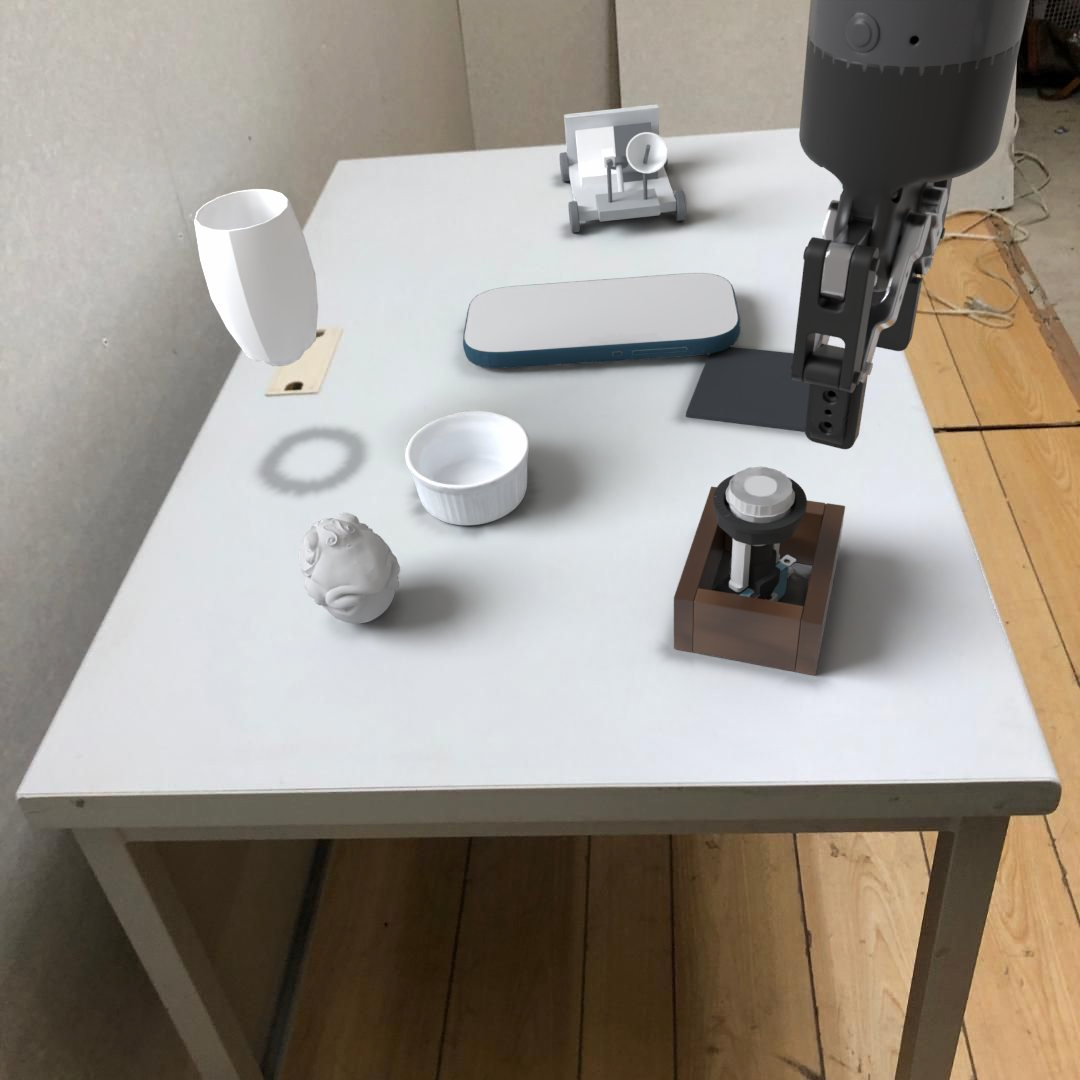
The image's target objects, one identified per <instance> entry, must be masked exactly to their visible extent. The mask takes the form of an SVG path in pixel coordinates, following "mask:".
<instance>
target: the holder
mask: <svg viewBox="0 0 1080 1080" xmlns="http://www.w3.org/2000/svg"><path fill="white" fill-rule="evenodd" d="M717 487H718V486H711V487H710V489H709V492H708V495H707V497H706V501H705V504H704V507H703V510H702V513H701V515H700V518H699V522H698V524H697V528H696V531H695V533H694V537H693V540H692V543H691V545H690V548H689V550H688V551H689V552H688V554H687V557H686V560H685V563H684V566H683V570H682V572H681V575H680V578H679V581H678V583H677V587H676V590H675V593H674V595H673V649H675V650H679V651H684V652H690V653H694V654H699V655H700V654H701V655H706V656H710V657H715V658H716V657H717V658H721V659H727V660H731V661H732V660H733V661H737V662H741V663H748V664H753V665H759V666H763V667H768V668H774V669H778V670H779V669H780V670H785V671H790V672H795V673H800V674H806V675H811V676H815V675H816V674H817V669H818V663H819V659H820V655H821V654H820V653H821V649H822V644H823V643H822V642H823V638H824V632H825V626H826V622H827V616H828V611H829V607H830V601H831V597H832V591H833V586H834V580H835V574H836V570H837V566H838V559H839V554H840V546H841V539H842V534H843V533H842V532H843V525H844V518H845V512H846V505H843V504H835V503H828V502H827V503H825V502H821V501H815V500H808V499H807V507H806V512H805V515H804V516H803V518H802V519H801V521H800V523H799V525H798V527H797V529H796V530H795V532H794V534H793V536H792V537H791V538H789V539H787V540H785V541H783V542H781V543H780V546H779V554H780V560H781V559H782V558H783V557H784V556H786V555H789V556H791V557H793V558H795V559H796V562H795V563H800V564H805V565H806V564H807V565H812V567H811V571H810V576H809V582H808V586H807V591H806V595H805V600H804V605H799V604H792V603H787V602H782V601H778V602H776V601H770V600H765V599H759V598H753V597H747V596H741V595H736V594H730V593H724V592H718V591H714V590H712V589H713V586H714V583H715V579H716V576H717V573H718V570H719V567H720V563H721V560H722V557H723V554H724V551H726V552H731V553H732V545H733V538H732V537H731V536H730V535H728V534H727V533H726V532H725V531H724V530H723V529H722V528H720V527H719V525H718V521H717V516H716V512H715V510H714V506H713V496H714V492H715V490H716V488H717ZM728 506H729V505H728ZM728 506H727V509H728ZM791 513H792V511H791V510H790V514H791ZM785 561H787V562H790V560H785Z"/></svg>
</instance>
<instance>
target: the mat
mask: <svg viewBox="0 0 1080 1080" xmlns="http://www.w3.org/2000/svg"><path fill="white" fill-rule="evenodd" d="M793 355H794V352H785V351H778V350H777V351H776V350H765V349H757V348H748V347H739V346H738V347H736V346H731V347H729V348H727V349H725V350H723V351H720V352H716V353H711V354H707V358H706V361H705V363H704V366H703V368H702V371H701V373H700V376H699V378H698V381H697V383H696V386H695V389H694V391H693V394H692V396H691V398H690V402H689V404H688V406H687V409H686V412H685V417H686V418H693V419H702V420H710V421H716V422H717V421H718V422H726V423H732V424H733V423H735V424H742V425H751V426H758V427H765V428H772V429H773V428H774V429H781V430H790V431H798V432H805V425H806V416H807V406H808V397H809V388H810V383H806V382H801V381H797V380H793V379H792V378H791V372H792V370H791V364H792V361H793Z"/></svg>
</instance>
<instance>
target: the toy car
mask: <svg viewBox="0 0 1080 1080" xmlns="http://www.w3.org/2000/svg"><path fill="white" fill-rule="evenodd" d="M563 119H564V132H565V133H564V134H565V147H566V151H565V152H559V166H560V170H559V171H560V178H561V181H562V183H563V182H570V186H571V192H572V198H573V201H569V202H568V219H569V227H570V232H571V233H579V232H580V229H581V226H580V225H581V224H580V222H587V221H596V220H599V222H610V221H618V220H627V219H628V220H629V219H637V218H646V217H655V216H661V213H670V212H674V218H675V221H677V222H683V221H685V220H686V218H687V200H686V193H685V191H684V189H676V190H674V191H673V188H672V185H671V182H670V180H669V177H668V174H667V172H666V171H667V170H668V166H669V164H668V163H669V160H668V159H669V148H668V145H667V143H666V141H665V140H664V139H663V138H662V137H661V135H660V108H659V105H658V104H657V103H656V104H648V105H647V104H646V105H639V106H629V107H621V108H611V109H602V110H593V111H584V112H575V113H566V114H563Z"/></svg>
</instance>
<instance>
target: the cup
mask: <svg viewBox="0 0 1080 1080" xmlns="http://www.w3.org/2000/svg"><path fill="white" fill-rule="evenodd" d="M193 221H194V228H195V229H194V230H195V237H196V242H197V248H198V254H199V255H198V256H199V261H200V264H201V268H202V272H203V275H204V279H205V282H206V286H207V289H208V292H209V296H210V300H211V301H212V303H213V305H214V307H215V309H216V311H217V313H218V315H219V317H220V318H221V320H222V322H223V324H224V326H225V329H226V330H227V331H228V332H229V334H230V335H231V336H232V338H233V339H234V341H235V342H236V343H237V345H238V346H239V347H240V349H241V351H243V353H244V355H246V357H247V358H249V359H250V360H251V359H252V360H254V361H257V362H262V363H263V362H264V363H265V364H267V365H269V366H271V367H285V366H288V365H292V364H294V363H296V362H297V361H299V360H300V359H301V358H302V356H303V355H304V353H305V352H306V351H307V350H309V349H311V348H312V346H313V344H314V343H315V342H316V340H317V332H318V331H317V330H318V318H319V300H318V299H319V298H318V288H317V276H316V271H315V268H314V264H313V260H312V258H311V257H312V256H311V253H310V250H309V247H308V244H307V240H306V237H305V234H304V233H303V230H302V227H301V225H300V223H299V220H298V218H297V216H296V213H295V211H294V209H293V205H292V204H291V202H290V200H289V198H287V196H285V194H283V193H282V192H279V191H276V190H272V189H267V188H251V189H243V190H236V191H233V192H230V193H226V194H223V195H219V196H217V197H215V198H213V199H211V200H210V201H208V202H205V203H204V204H203V205H202V206H201V207H200V208H199V209H198V210H196V213H195V216H194V219H193Z"/></svg>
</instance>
